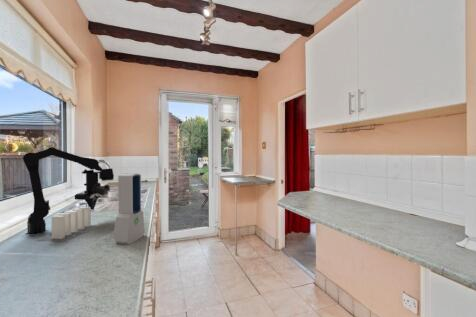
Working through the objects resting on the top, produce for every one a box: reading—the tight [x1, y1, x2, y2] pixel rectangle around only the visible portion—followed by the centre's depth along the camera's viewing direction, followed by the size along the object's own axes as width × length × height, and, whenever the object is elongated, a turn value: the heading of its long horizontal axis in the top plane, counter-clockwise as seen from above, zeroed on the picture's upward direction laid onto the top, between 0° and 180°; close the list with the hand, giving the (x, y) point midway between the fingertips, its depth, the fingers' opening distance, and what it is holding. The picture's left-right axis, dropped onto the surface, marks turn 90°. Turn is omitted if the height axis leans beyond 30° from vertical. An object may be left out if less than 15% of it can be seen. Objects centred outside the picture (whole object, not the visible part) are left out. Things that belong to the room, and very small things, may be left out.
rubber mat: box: [36, 224, 99, 243], centre depth 114 cm, size 12×24×1 cm, turn 175°
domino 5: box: [78, 206, 92, 227], centre depth 124 cm, size 5×2×10 cm, turn 85°
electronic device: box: [112, 173, 146, 245], centre depth 106 cm, size 12×8×30 cm, turn 168°
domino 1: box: [51, 215, 65, 239], centre depth 106 cm, size 5×2×10 cm, turn 85°
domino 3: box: [65, 210, 78, 232], centre depth 115 cm, size 5×2×10 cm, turn 85°
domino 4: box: [72, 208, 85, 229], centre depth 120 cm, size 5×2×10 cm, turn 85°
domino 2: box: [57, 212, 71, 235], centre depth 111 cm, size 5×2×10 cm, turn 85°
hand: (92, 209), depth 130 cm, fingers closed
